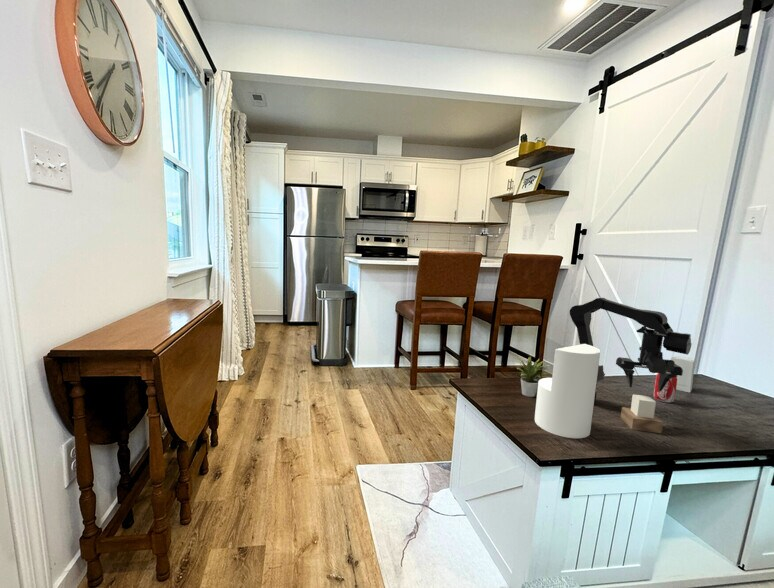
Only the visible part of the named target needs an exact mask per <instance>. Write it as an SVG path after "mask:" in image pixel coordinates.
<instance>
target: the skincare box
mask: <svg viewBox="0 0 774 588" xmlns="http://www.w3.org/2000/svg"><path fill="white" fill-rule="evenodd" d="M670 360H673V361H674V362H675V364H676V365H678V366H680V367H681V368H682V369H683V374H682V376H680V375H677V386H676V391H681V392H685V393H689V394H690V393H691V392H692V390H693V383H694V382H693V380H694V370H695V365H696V364H695V363H696V358H691V357H684V356H679V355H678V356H677V355H672V357H670Z"/></svg>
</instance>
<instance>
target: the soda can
mask: <svg viewBox="0 0 774 588" xmlns="http://www.w3.org/2000/svg"><path fill="white" fill-rule="evenodd" d="M659 375H660V373H656V375H655V381H654V388H653V398H654V399H656V400H657V401H659V402H662V403H665V404H670V403H673V402H675V401H674V400H675V397H676V392H677V390H676V386H677V377H673V378H671V379H670V380H669V381H668V382H667V383H666V385H665V386H664V388H663V389H662V391H659V390H658V383H659Z"/></svg>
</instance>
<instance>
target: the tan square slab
mask: <svg viewBox="0 0 774 588" xmlns="http://www.w3.org/2000/svg"><path fill="white" fill-rule="evenodd" d="M620 412H621V413H620V418H621V419H622V421H623V422H624V423H626V425H627V426H628V427H629V428H630V429H631V430H636V431H641V432H643V431H644V432H648V433H649V432H650V433H656V434H662V432H663V427H664V421H663V420H661V419H660V418H659V417H658V416H657V415H655V414H654V418H645V417H637V416H636V415H635V414H634V413H633V412H632V411H631V407H624V406H622V407H621V411H620Z"/></svg>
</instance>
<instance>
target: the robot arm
mask: <svg viewBox="0 0 774 588" xmlns="http://www.w3.org/2000/svg"><path fill="white" fill-rule="evenodd" d="M599 310H603V311H607V312H610V313H613V314H616V315H619V316H622V317H626V318H628V319H631V320H634V321H635V322H636V323H638V324H639V325H641V327H640V328H639V329H636V333H640V334H642V339H641V346H639V349H638V350H639V351H640V352H639V357H638V358H637V361H634V360H632V359H631V358H629V357H621V356H620V357H617V358H616V360H615V365H617V366H618V367H619V368H621V369H622V370H623V371H624V374H625V377H626V379H627V380H626V381H627V383H628V387H629V388H632V387H633V382H634V380H633V379H634V373H635V372H636V371H635V370H634V369H635V368H639V369H640V368H642V369H648V371H649V372H650V373H652V374H658V373H660V375H659V383H658V390H659V391H662V389H663V388H664V386H665V385H666V383H667V382H668V381H669V380H670V379H671V378H673V377H677V375H680V376H682V374H683V369H682V368H681V367H680V366H678V365H676V364H675V362H674V361H673V360H671V359H664V358H663V355H664V354H663V352H662V347H663V348H664V349H665V350H666V351H669V352H673V353H678V354H683V355H687V356H688V355H689V353H690V352H691V348H692V345H693V343H692V338H691V337H692V335H691V334H690V333H685V332H684V333H683V332H682V333H681V332H676V331H674V329H673V328H672V327H671V325H670V324H669V322H668V317H667V315H666V314H665V313H663V312H661V311H655V310H650V309H649V310H648V309H640V308H636V307H633V306H629V305H626V304H623V303H619V302H618V301H617V302H616V301H613V300H610V299H607V298H605V297H597V298H594V299H593V300H590V301H588V302H585V303H584V304H577V305H574V306H572V307H571V308H570V309H569V316H570V318H571V321H572V323H573V325H574V326H575V327H576V331H577V336H578V340H579V341H578V342H579V345H580V344H587V345H591V346H593V347H594V343H593V338H592V333H591V322H592V314H594V313H596V312H598V311H599ZM605 376H606V374H605V372H604V365H599V366H598V374H597V382H596V387H597V386H598V384H600V383H602V382H603V381H604V379H605ZM596 403H597V389H596V390H595V398H594V405H597V404H596Z"/></svg>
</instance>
